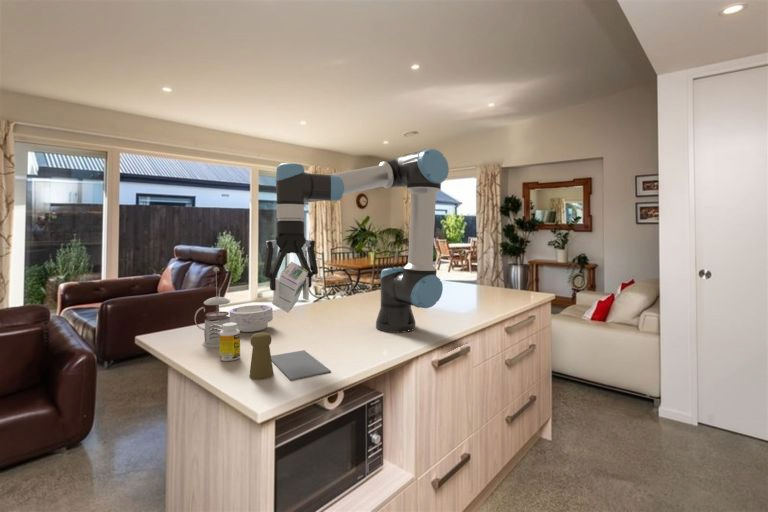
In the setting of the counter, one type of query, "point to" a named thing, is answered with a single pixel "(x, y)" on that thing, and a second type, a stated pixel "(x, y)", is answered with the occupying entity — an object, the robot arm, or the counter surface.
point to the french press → (210, 335)
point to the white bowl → (251, 317)
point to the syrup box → (290, 286)
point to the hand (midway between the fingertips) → (291, 300)
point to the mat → (298, 365)
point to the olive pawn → (261, 356)
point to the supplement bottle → (229, 342)
